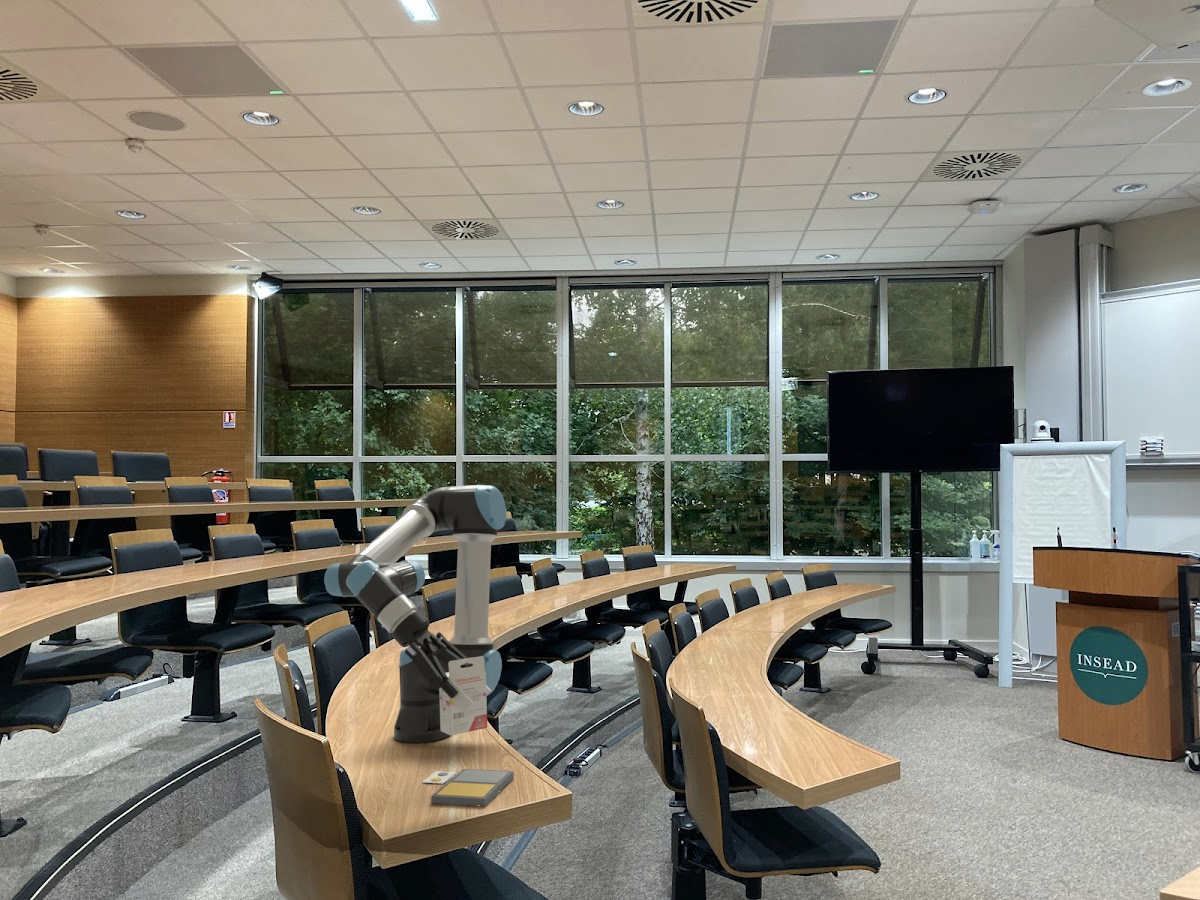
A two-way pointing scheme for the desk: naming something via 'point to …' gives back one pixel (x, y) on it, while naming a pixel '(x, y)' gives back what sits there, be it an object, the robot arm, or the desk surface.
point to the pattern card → (439, 777)
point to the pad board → (472, 787)
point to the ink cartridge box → (474, 687)
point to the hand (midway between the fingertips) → (477, 701)
